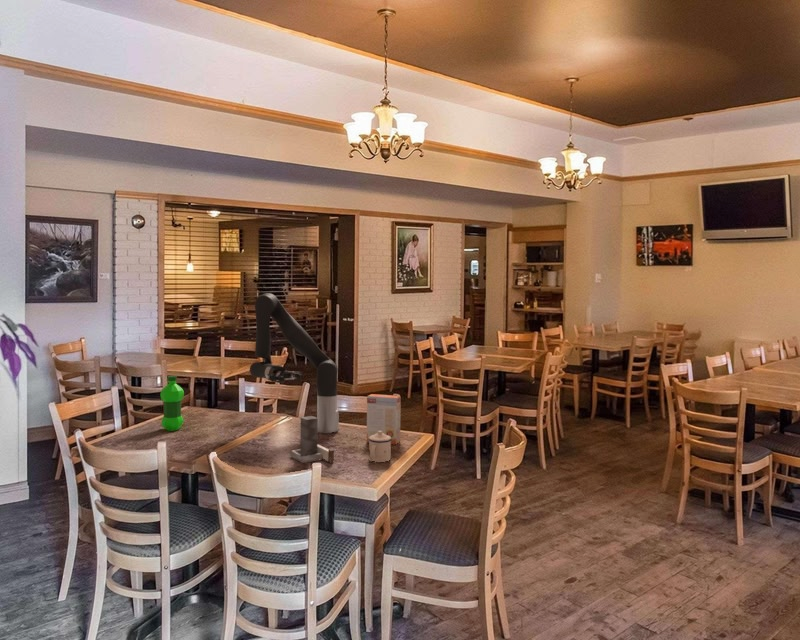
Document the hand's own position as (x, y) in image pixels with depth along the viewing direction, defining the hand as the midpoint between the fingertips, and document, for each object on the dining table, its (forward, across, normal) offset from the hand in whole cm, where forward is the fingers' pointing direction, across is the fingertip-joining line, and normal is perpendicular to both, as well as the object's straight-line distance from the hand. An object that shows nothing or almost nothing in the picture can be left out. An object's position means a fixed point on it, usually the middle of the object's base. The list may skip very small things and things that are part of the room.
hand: (291, 378), depth 266 cm
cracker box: (+17, +35, +30) cm, 50 cm away
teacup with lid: (+39, +18, +30) cm, 53 cm away
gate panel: (+21, +2, +29) cm, 36 cm away
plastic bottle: (-53, -36, +28) cm, 70 cm away
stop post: (+21, -3, +29) cm, 36 cm away
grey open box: (+21, -4, +29) cm, 36 cm away
